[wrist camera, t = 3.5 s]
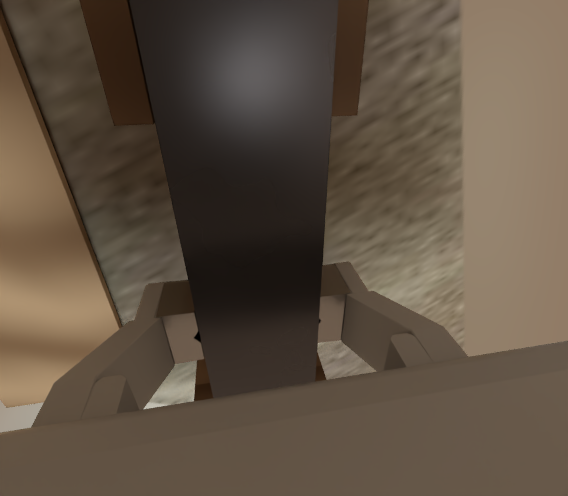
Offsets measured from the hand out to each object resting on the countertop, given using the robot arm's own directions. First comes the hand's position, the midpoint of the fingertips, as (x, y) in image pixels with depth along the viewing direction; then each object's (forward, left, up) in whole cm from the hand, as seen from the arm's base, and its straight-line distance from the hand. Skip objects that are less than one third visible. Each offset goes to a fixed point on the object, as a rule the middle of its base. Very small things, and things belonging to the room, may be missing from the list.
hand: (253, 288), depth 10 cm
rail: (0, 0, -1) cm, 1 cm away
